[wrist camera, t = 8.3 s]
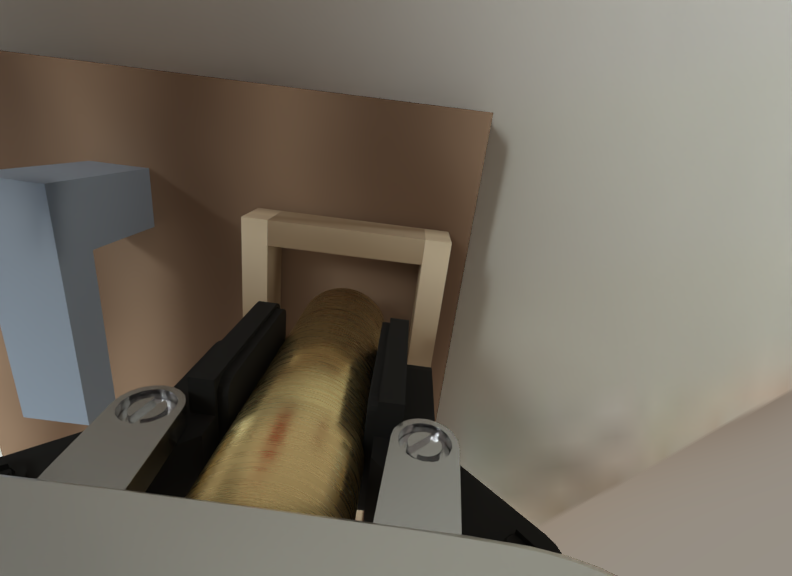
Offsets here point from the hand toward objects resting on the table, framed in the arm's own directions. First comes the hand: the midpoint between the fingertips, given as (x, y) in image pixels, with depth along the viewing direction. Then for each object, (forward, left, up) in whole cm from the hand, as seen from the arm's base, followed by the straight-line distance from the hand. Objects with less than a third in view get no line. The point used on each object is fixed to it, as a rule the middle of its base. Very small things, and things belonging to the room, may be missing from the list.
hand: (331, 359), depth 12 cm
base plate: (-6, -4, -5) cm, 9 cm away
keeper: (-8, 0, -4) cm, 9 cm away
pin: (0, 0, -2) cm, 2 cm away
